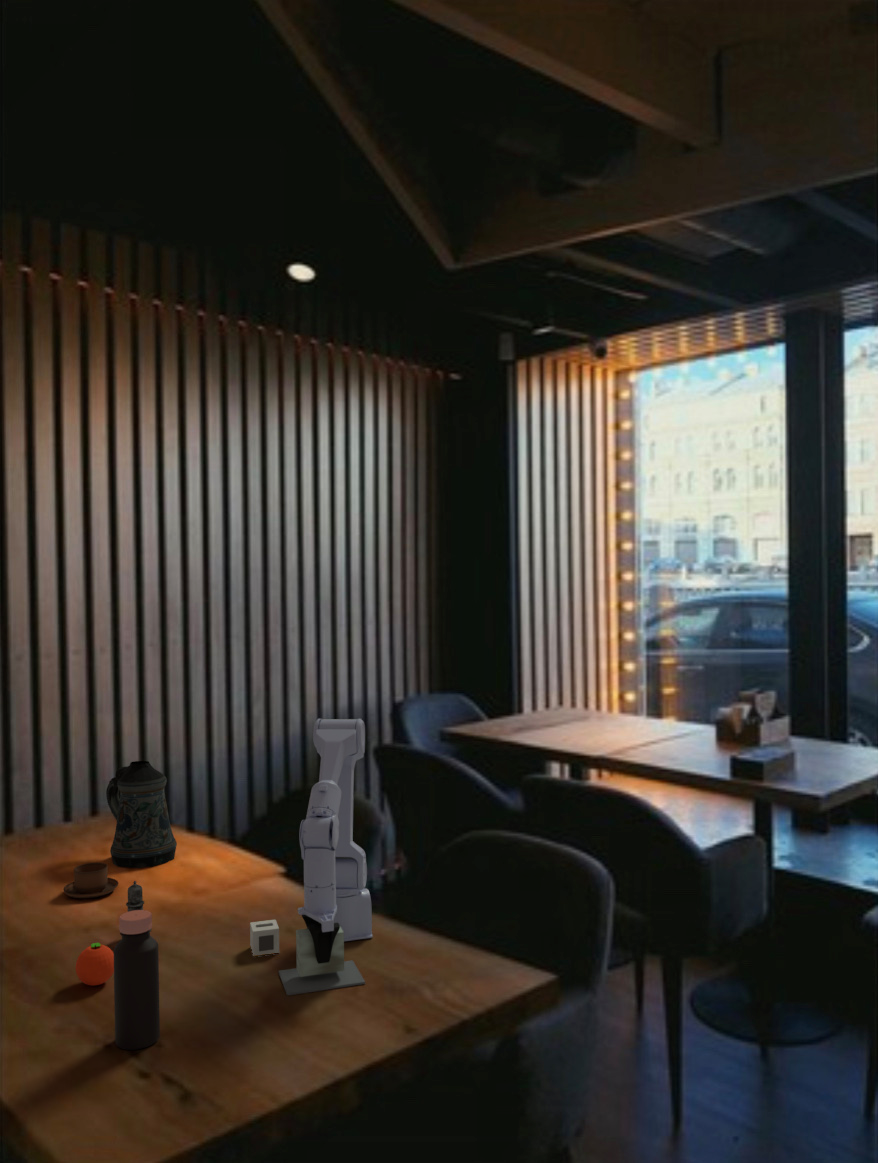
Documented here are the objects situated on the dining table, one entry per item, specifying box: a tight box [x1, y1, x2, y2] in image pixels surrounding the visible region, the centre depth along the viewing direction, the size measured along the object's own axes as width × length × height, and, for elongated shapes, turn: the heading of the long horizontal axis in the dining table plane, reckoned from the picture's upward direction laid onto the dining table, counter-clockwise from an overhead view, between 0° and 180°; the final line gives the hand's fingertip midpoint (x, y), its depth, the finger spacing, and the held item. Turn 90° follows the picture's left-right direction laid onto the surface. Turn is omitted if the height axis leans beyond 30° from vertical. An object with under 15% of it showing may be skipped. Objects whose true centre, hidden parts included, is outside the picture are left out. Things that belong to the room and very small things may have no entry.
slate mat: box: [278, 960, 366, 996], centre depth 174 cm, size 14×10×1 cm
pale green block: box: [295, 927, 345, 977], centre depth 174 cm, size 8×4×7 cm, turn 108°
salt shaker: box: [125, 880, 145, 912], centre depth 193 cm, size 6×6×12 cm
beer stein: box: [105, 760, 178, 869], centre depth 248 cm, size 16×19×25 cm
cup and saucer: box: [62, 862, 119, 899], centre depth 222 cm, size 12×12×6 cm
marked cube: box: [249, 919, 280, 957], centre depth 187 cm, size 5×5×5 cm
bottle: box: [113, 909, 161, 1051], centre depth 152 cm, size 7×7×20 cm
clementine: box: [75, 942, 114, 987], centre depth 173 cm, size 8×7×7 cm
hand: (320, 957), depth 174 cm, fingers closed on pale green block, 4 cm apart
